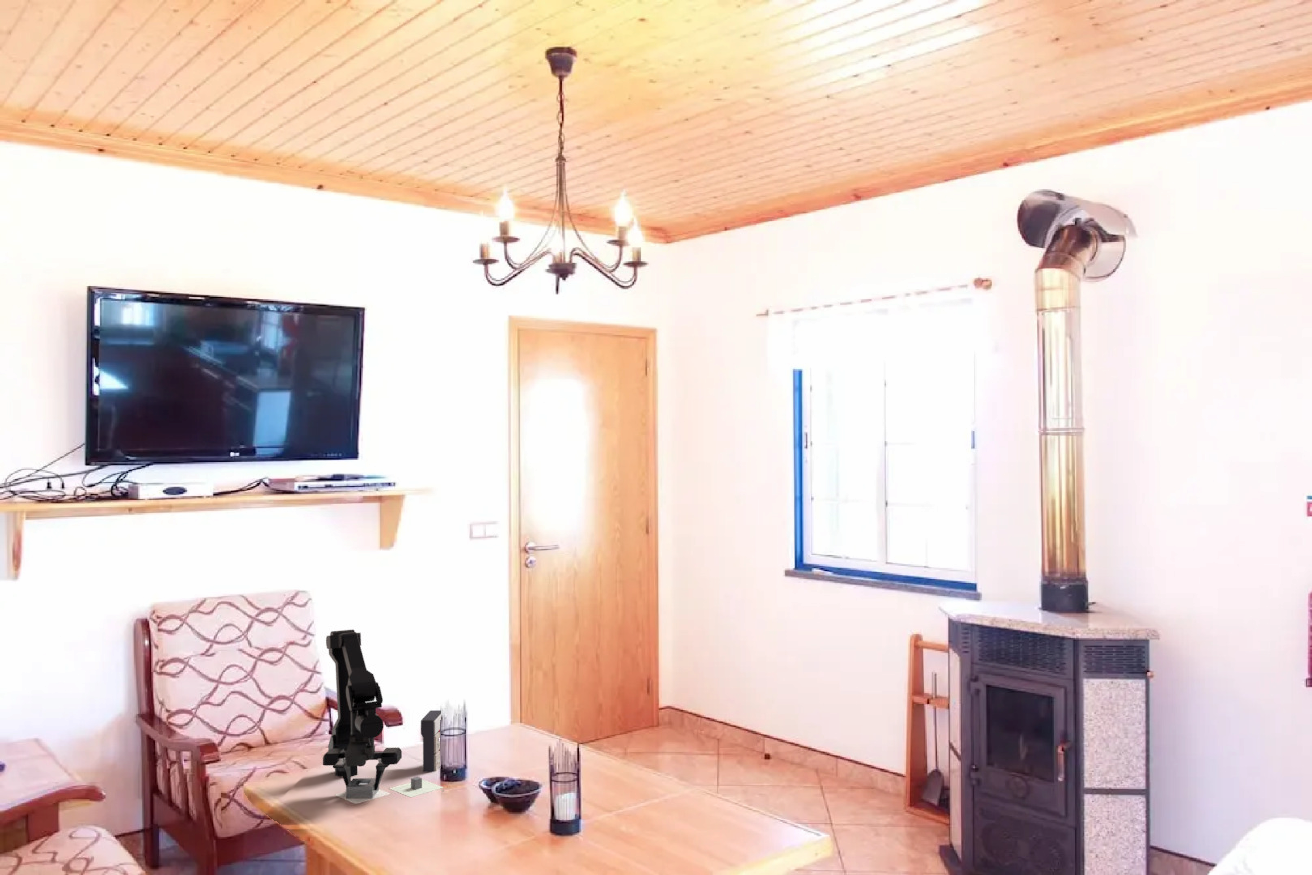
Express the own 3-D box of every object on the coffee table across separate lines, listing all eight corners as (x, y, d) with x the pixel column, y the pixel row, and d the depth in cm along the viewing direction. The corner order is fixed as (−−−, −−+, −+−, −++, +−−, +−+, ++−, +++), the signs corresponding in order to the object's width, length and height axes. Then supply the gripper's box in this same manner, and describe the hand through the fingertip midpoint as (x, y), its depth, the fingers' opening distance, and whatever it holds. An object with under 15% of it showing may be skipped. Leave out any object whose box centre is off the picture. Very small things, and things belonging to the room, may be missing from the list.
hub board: (389, 792, 263) (389, 778, 263) (422, 782, 270) (422, 769, 270) (410, 801, 256) (410, 787, 256) (443, 791, 263) (443, 777, 263)
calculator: (436, 775, 277) (436, 720, 277) (420, 775, 277) (420, 720, 277) (445, 762, 288) (445, 709, 288) (430, 762, 288) (430, 709, 288)
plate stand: (334, 798, 258) (334, 784, 258) (369, 788, 265) (369, 775, 266) (355, 807, 251) (355, 793, 251) (390, 797, 259) (390, 783, 259)
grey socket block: (346, 798, 255) (346, 786, 255) (353, 790, 262) (353, 778, 262) (372, 798, 255) (372, 786, 255) (379, 789, 262) (378, 778, 262)
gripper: (316, 738, 250) (316, 801, 250) (391, 737, 251) (392, 800, 251) (329, 726, 262) (329, 786, 261) (402, 724, 262) (402, 785, 262)
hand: (362, 790), depth 258 cm, fingers closed on grey socket block, 7 cm apart
